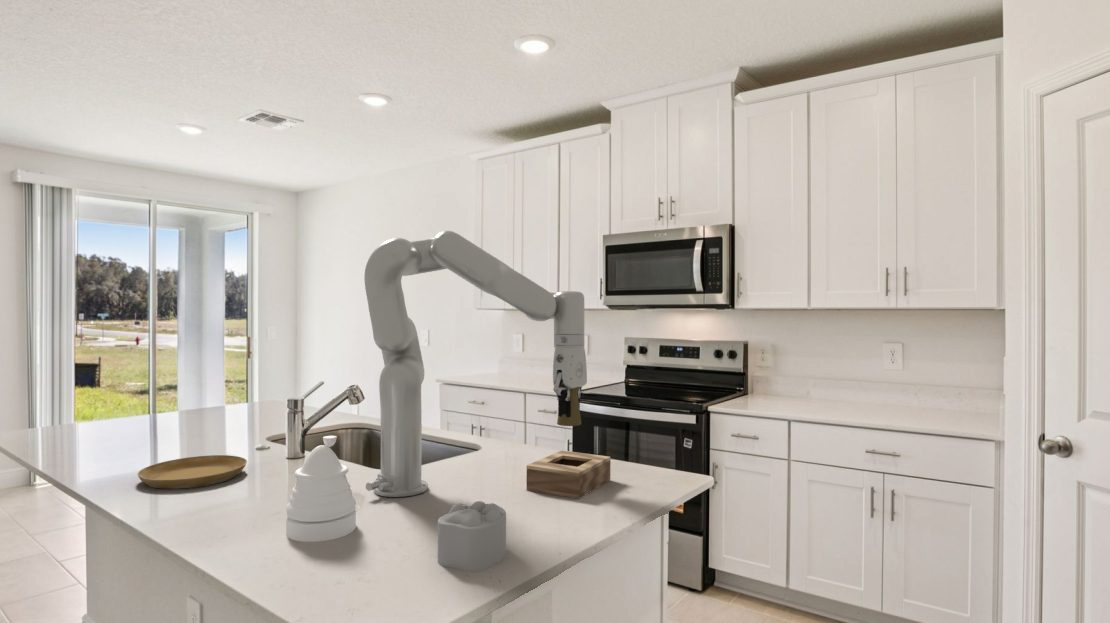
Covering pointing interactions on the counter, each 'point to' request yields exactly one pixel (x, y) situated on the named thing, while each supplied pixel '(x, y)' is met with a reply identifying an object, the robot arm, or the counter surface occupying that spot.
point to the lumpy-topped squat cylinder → (472, 536)
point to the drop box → (568, 474)
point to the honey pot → (321, 498)
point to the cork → (575, 410)
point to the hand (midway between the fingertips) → (569, 414)
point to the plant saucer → (192, 471)
